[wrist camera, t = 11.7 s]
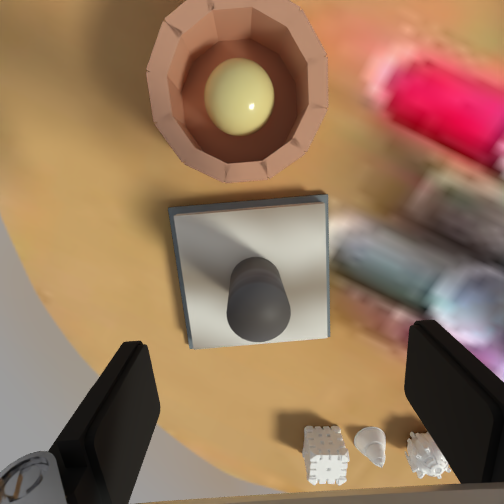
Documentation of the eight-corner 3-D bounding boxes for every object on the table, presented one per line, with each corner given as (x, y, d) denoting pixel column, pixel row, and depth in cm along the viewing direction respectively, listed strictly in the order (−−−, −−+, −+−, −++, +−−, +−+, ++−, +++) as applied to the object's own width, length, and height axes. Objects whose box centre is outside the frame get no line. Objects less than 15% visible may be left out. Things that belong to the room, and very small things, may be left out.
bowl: (159, 32, 18) (133, -9, 14) (307, 20, 19) (326, -25, 14) (180, 184, 21) (163, 188, 17) (311, 173, 21) (329, 174, 17)
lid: (176, 214, 21) (151, 231, 15) (321, 201, 21) (350, 214, 15) (195, 342, 24) (180, 398, 18) (324, 331, 24) (349, 383, 18)
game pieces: (301, 451, 28) (307, 486, 25) (303, 420, 27) (311, 453, 24) (431, 452, 28) (454, 487, 25) (438, 422, 27) (462, 455, 24)
